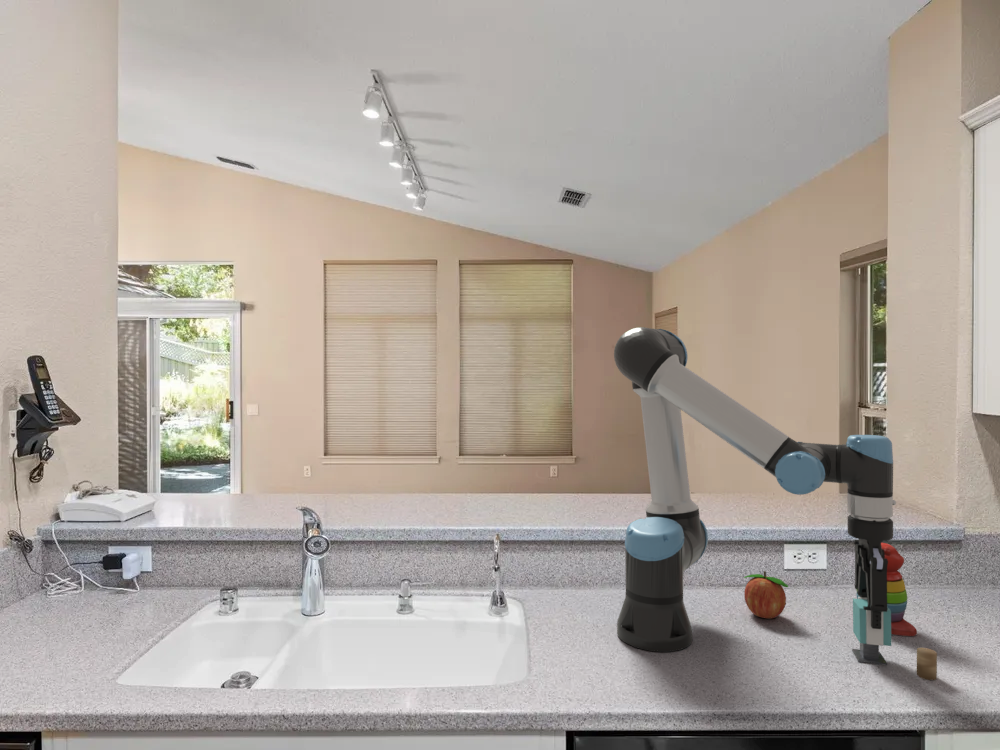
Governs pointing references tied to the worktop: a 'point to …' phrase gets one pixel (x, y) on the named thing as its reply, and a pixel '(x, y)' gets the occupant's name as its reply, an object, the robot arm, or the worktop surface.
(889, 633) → the teal rectangular prism
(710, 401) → the robot arm
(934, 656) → the oak stub
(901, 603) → the stacking bear
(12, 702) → the worktop surface
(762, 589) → the fruit
